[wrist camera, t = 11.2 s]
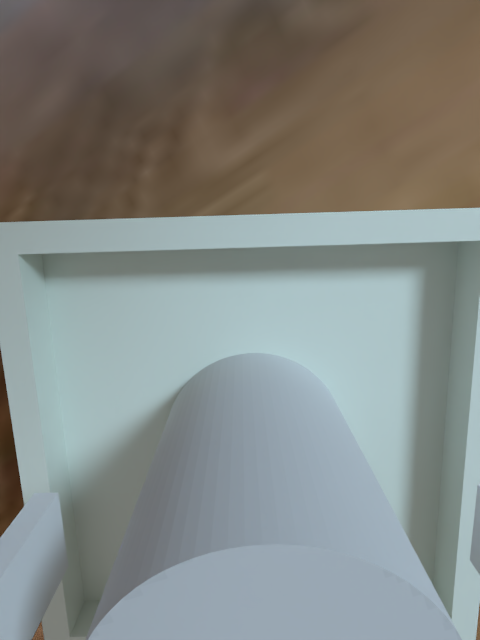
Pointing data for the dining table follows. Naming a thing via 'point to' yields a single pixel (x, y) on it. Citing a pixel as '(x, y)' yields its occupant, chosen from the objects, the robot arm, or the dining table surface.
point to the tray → (240, 338)
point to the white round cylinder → (264, 524)
